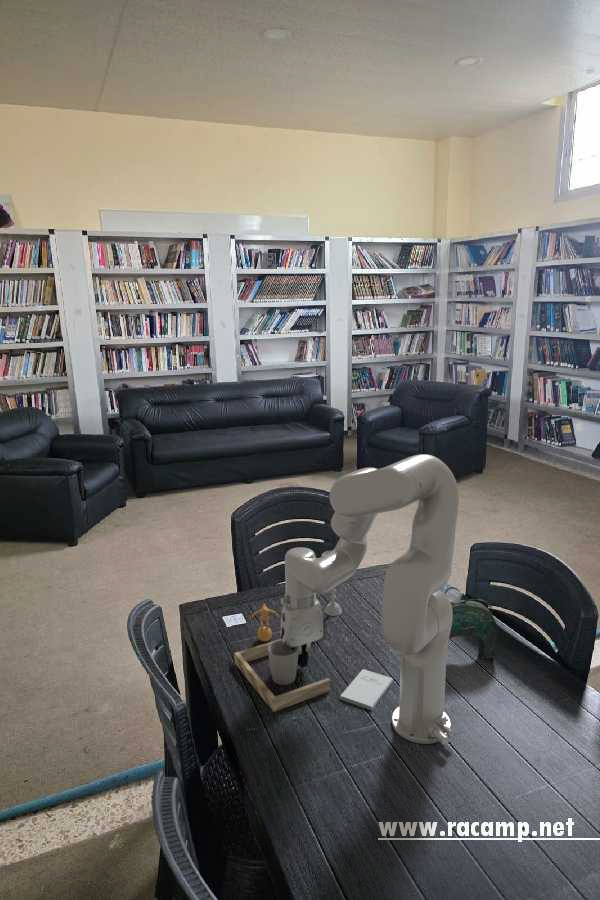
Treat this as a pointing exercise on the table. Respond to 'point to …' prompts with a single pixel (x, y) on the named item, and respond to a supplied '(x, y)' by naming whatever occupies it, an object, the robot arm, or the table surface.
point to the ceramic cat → (475, 624)
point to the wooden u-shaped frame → (263, 690)
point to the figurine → (263, 632)
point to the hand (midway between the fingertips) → (301, 664)
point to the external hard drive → (366, 689)
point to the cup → (282, 663)
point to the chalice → (332, 607)
